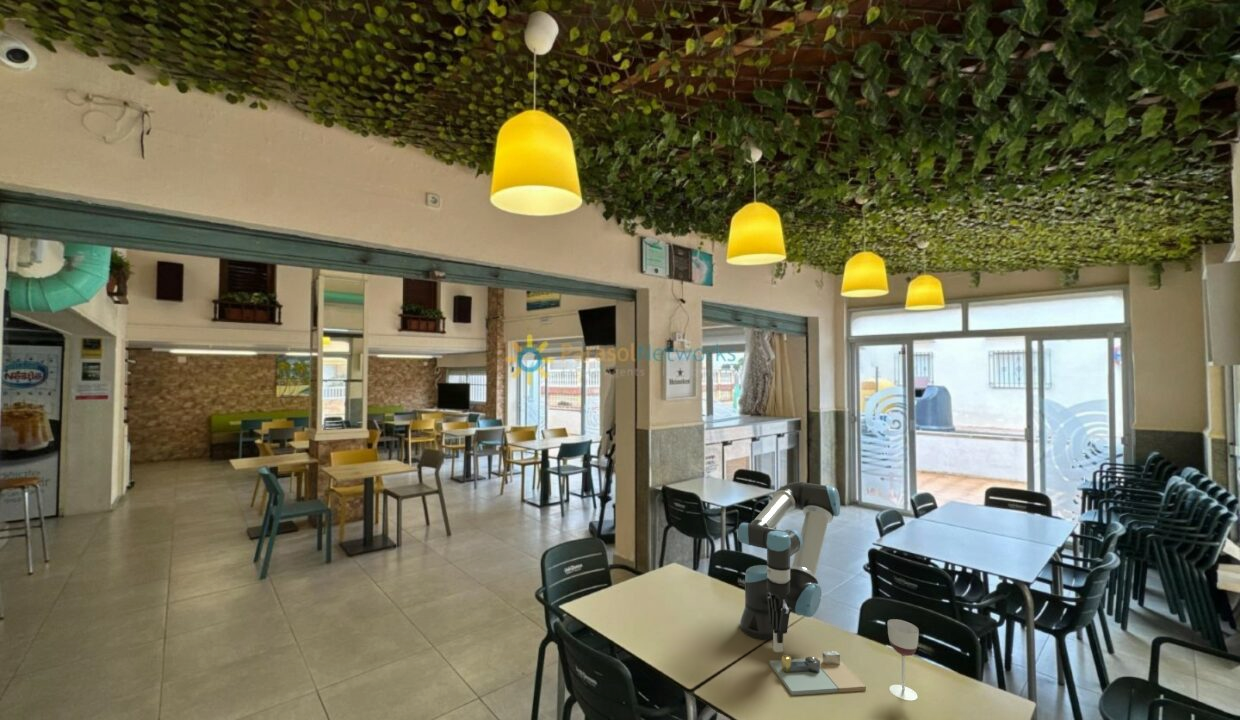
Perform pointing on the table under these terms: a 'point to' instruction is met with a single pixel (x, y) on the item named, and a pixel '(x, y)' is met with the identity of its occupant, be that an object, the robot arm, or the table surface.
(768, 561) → the robot arm
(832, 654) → the block
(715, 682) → the table surface
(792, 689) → the door board
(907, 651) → the wineglass
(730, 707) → the table surface
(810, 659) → the swing bar
